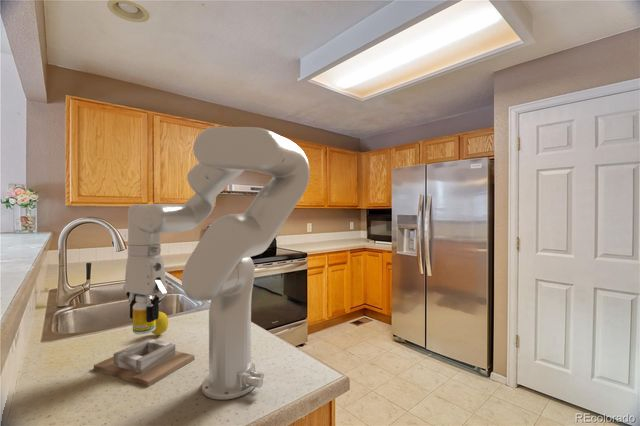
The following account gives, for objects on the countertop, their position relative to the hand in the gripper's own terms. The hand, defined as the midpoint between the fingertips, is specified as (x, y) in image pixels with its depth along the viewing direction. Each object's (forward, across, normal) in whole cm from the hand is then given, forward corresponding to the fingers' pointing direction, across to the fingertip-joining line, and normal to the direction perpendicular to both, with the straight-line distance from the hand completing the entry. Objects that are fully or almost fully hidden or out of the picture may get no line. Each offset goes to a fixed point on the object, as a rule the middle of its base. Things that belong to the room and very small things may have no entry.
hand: (144, 317), depth 82 cm
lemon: (+13, +12, -15) cm, 23 cm away
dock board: (+12, -1, 0) cm, 12 cm away
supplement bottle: (+4, 0, 0) cm, 4 cm away
